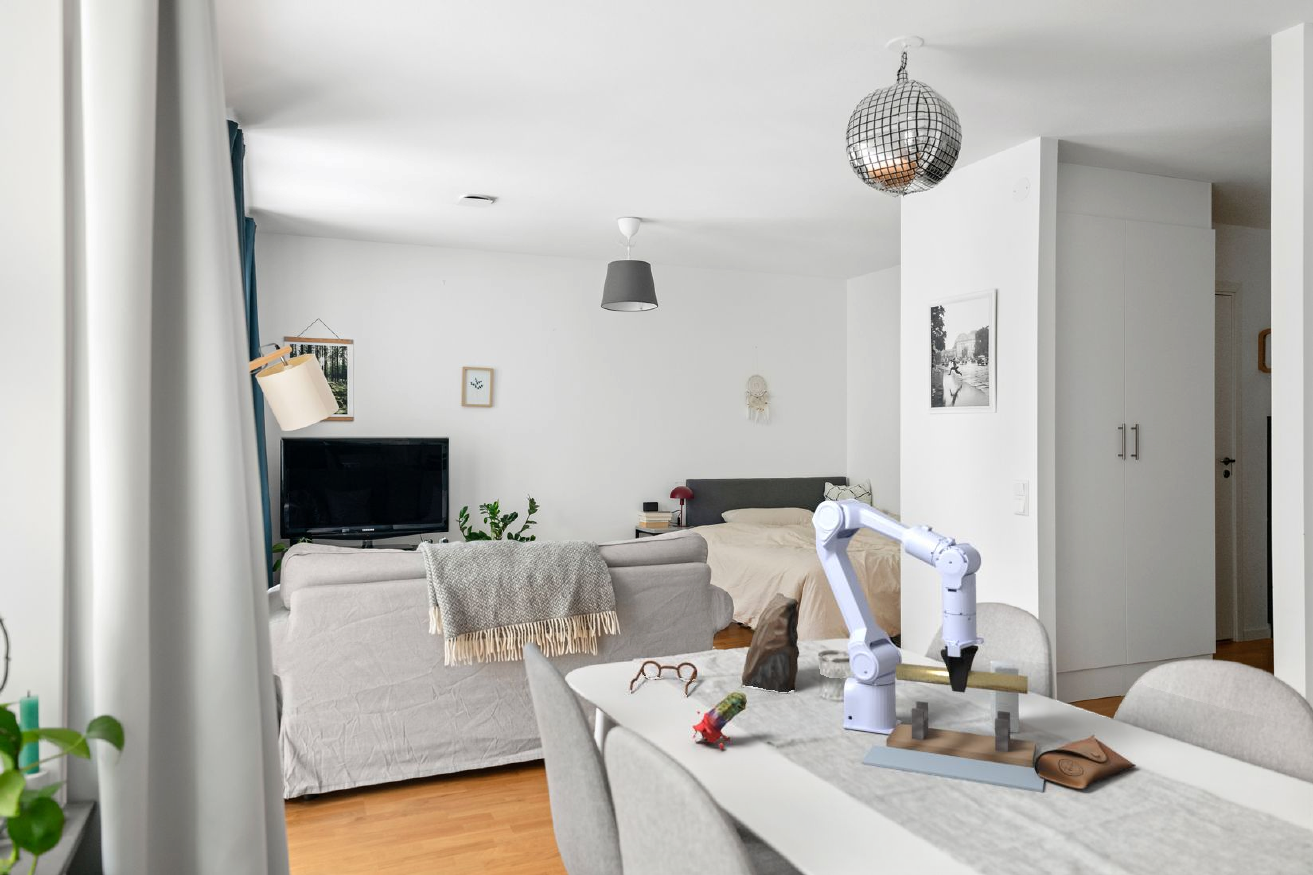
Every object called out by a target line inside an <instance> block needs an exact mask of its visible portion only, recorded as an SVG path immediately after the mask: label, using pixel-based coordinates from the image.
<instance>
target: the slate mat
mask: <svg viewBox="0 0 1313 875" xmlns="http://www.w3.org/2000/svg"><path fill="white" fill-rule="evenodd" d="M861 764H862V765H867V766H874V767H881V768H886V769H893V770H899V771H905V772H912V773H919V774H924V775H933V776H937V777H944V778H949V779H955V780H956V779H958V780H963V781H970V782H976V783H982V784H988V785H994V786H995V785H996V786H1001V787H1008V788H1013V789H1021V790H1026V791H1033V792H1038V793H1039V792H1040V793H1043V791H1044V785H1045V784H1044V783H1045V779H1044V778H1041V777H1039V776H1038V775H1037V773H1036V771H1035V770H1034V767H1033V768H1032V767H1025V766H1018V765H1012V764H1005V763H998V762H991V761H984V760H977V759H971V758H964V757H957V756H950V755H943V754H936V753H929V752H923V751H916V750H909V749H902V748H895V747H888V746H883V745H876V744H872V746H871V747H870V748H869V750H868V752H867V753H866V754H865V756H864V757H863V759H862V760H861Z"/></svg>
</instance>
